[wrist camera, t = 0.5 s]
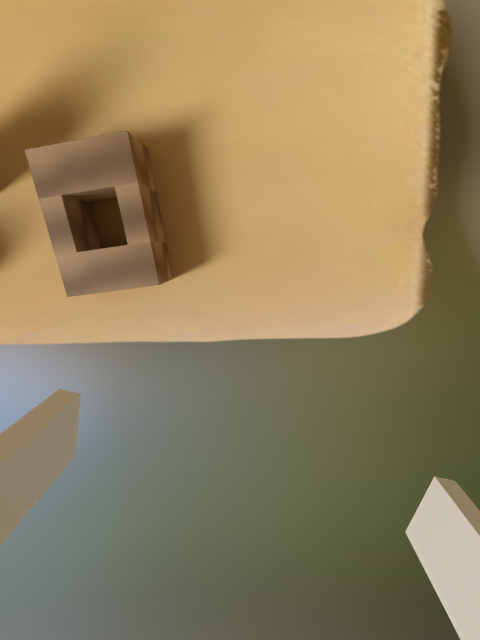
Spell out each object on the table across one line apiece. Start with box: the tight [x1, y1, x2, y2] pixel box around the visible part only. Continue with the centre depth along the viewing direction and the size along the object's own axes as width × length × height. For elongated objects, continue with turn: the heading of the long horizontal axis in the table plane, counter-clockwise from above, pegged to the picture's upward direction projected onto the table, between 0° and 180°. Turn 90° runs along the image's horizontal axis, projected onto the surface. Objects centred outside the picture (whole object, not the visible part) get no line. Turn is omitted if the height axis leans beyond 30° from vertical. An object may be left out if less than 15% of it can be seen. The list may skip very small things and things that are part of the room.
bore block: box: [25, 131, 173, 297], centre depth 30 cm, size 14×10×5 cm
